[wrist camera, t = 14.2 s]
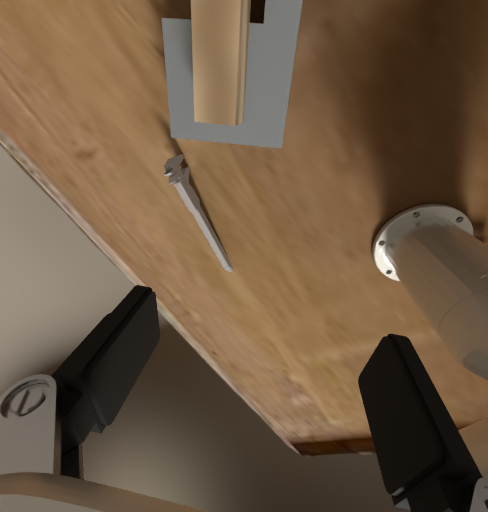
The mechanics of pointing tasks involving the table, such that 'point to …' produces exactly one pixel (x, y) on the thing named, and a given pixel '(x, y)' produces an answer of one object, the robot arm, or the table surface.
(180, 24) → the notched block
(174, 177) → the caliper
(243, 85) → the oak batten
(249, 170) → the table surface
